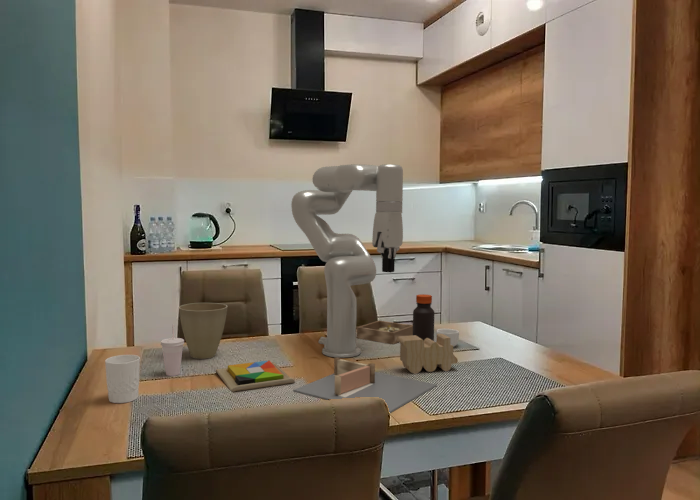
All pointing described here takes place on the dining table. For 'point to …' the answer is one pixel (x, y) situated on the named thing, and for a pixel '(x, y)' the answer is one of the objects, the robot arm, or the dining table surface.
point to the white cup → (122, 378)
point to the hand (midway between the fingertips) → (388, 271)
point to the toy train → (426, 353)
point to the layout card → (372, 389)
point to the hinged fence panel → (352, 380)
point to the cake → (389, 329)
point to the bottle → (423, 317)
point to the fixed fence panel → (352, 367)
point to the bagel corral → (383, 332)
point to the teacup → (450, 335)
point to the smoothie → (172, 354)
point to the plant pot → (203, 327)
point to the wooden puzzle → (253, 375)
